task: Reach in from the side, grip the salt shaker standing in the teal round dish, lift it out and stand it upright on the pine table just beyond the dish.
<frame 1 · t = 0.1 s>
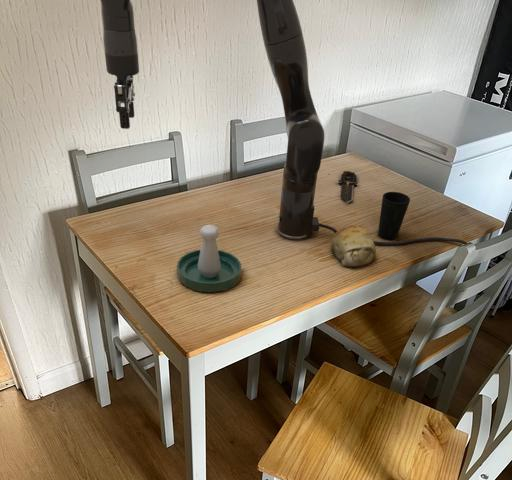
hand: (127, 122, 135), 29 cm above the table, tool pointing down, fingers open, 8 cm apart
cup: (387, 236, 159), on the table
pastry: (351, 255, 149), on the table
teal round dish: (209, 275, 136), on the table
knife: (348, 189, 183), on the table
salt shaker: (209, 274, 136), resting on teal round dish
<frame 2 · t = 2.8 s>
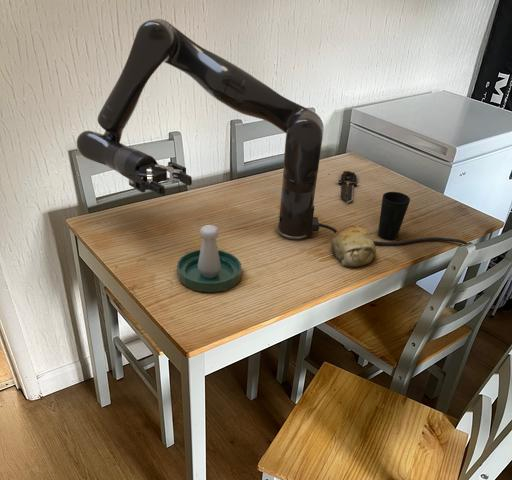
hand: (177, 186, 129), 20 cm above the table, tool horizontal, fingers open, 8 cm apart
nothing on the table moved.
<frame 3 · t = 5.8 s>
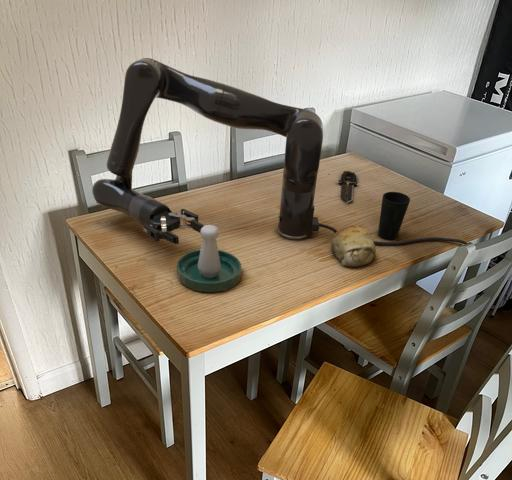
hand: (190, 235, 134), 9 cm above the table, tool horizontal, fingers open, 8 cm apart
nothing on the table moved.
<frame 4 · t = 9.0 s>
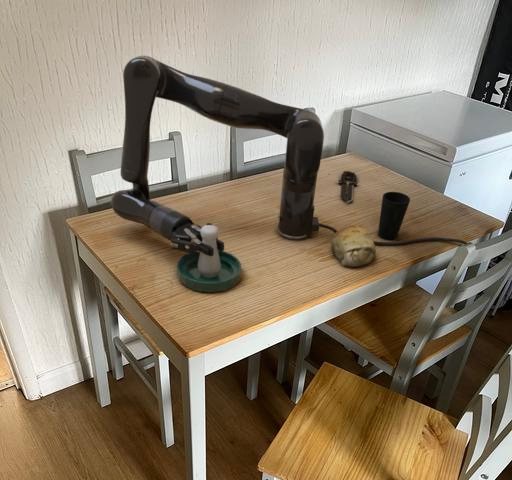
hand: (217, 250, 130), 9 cm above the table, tool horizontal, fingers closed on salt shaker, 3 cm apart
salt shaker: (209, 274, 136), resting on teal round dish, touching gripper
everything else where it was.
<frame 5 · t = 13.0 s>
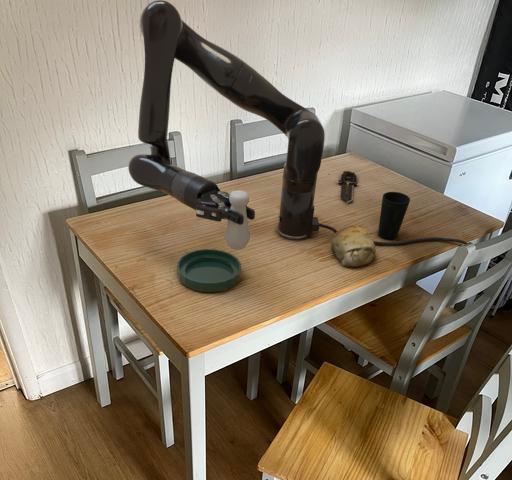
hand: (247, 217, 117), 21 cm above the table, tool horizontal, fingers closed on salt shaker, 3 cm apart
salt shaker: (236, 246, 124), point 12 cm above the table, touching gripper
everything else where it was.
when the fingers open (8 cm above the table, at t = 17.4 s): salt shaker stays where it is, on the table.
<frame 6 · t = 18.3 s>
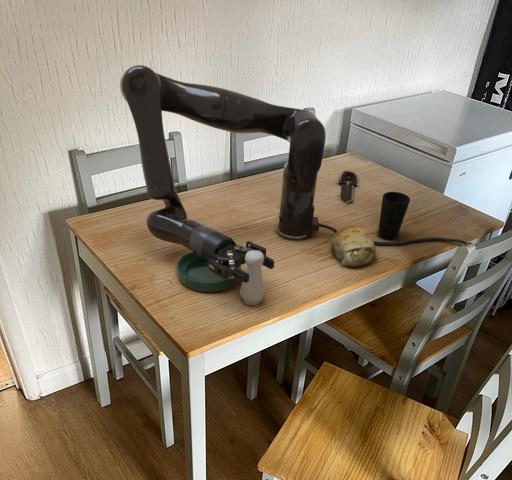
hand: (261, 272, 122), 9 cm above the table, tool horizontal, fingers open, 8 cm apart
salt shaker: (251, 301, 129), on the table
everything else where it was.
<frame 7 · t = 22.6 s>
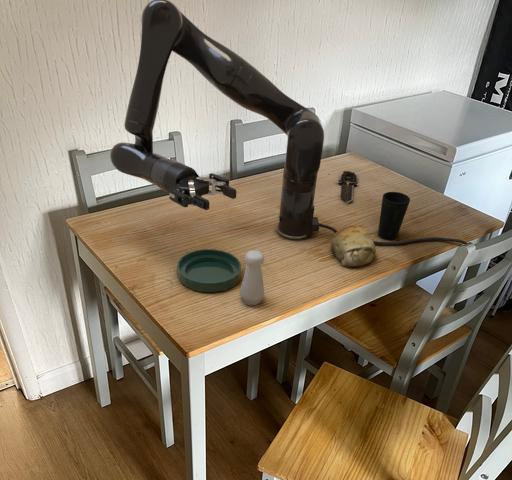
hand: (222, 200, 121), 22 cm above the table, tool horizontal, fingers open, 8 cm apart
nothing on the table moved.
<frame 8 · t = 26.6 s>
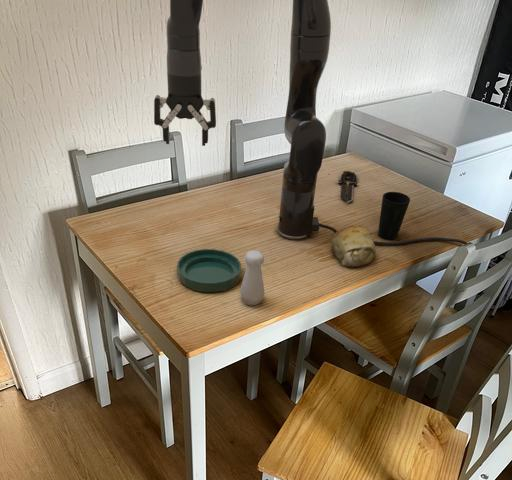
hand: (185, 143, 129), 28 cm above the table, tool pointing down, fingers open, 8 cm apart
nothing on the table moved.
at the end: salt shaker 0.1 cm from the target spot, on the table; salt shaker tilted 0°; salt shaker touching table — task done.
